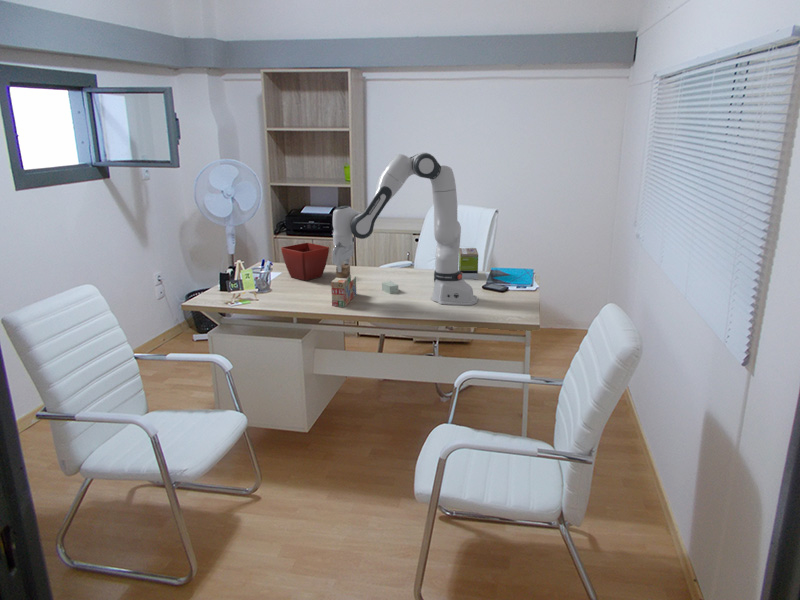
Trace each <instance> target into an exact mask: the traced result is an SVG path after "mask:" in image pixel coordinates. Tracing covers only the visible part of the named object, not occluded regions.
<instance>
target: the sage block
mask: <svg viewBox="0 0 800 600" xmlns="http://www.w3.org/2000/svg"><path fill="white" fill-rule="evenodd" d="M381 291H384V292H385V293H388V294H389V295H391V294H396V293H399V284H397V283H394V282H392V281H385V282H381Z"/></svg>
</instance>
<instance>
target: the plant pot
mask: <svg viewBox="0 0 800 600" xmlns="http://www.w3.org/2000/svg"><path fill="white" fill-rule="evenodd" d="M280 249H281V254H282V257H283V261H284V264H285V266H286V269H287V271H288V274H289V276H290V278H292V279H293V278H294V279H297V280H300V281H310V280H312V279H313V280H314V279H318V278H322V277H323V275H324V272H325V269H326V265H327V262H328V257H329V251H330V247H329V246H326V245H320V244H316V243H311V242H303V243H297V244H294V245H293V244H292V245H285V246H281V248H280Z"/></svg>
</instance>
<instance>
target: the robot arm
mask: <svg viewBox="0 0 800 600" xmlns="http://www.w3.org/2000/svg"><path fill="white" fill-rule="evenodd" d="M391 159H392V160H390V162H389V163H388V164H387V165H386V167H385V168H384V169H383V170H382V172H381V174H380V175H379V178H378V179H377V180H376V185H375V192H374V196H373V198H372V200H371V201H370V202H369V204H368V205H367V207H366V208H365V210H364V212H362V211H358V210H355V209H354V208H352V207H351V206H350V205H341V206H338V207H337V206H336V207H335V209H334V210H333V212H332V228H333V233H332V243H333V244H332V245H333V246H334V247H333V249H332V252H331V254H332V255H331V256H332V257H331V264H333V265H335V266H336V267H337V269H338V272H342V268H341V265H342V263H344V264H343V265H350V260H351V257H353V256H354V253H355V251H354V250H355V240H356V239H355V238H357V239H361V240H364V239H367V238H369V237H370V236H371V235H372V233H373V231H374V226H375V223H376V221H377V218H378V217H379V216H380V214H381V212H382V211H383V209H385V207H386V205H387V204H388V203H389V202H390V200H392V199H393V197H394V196H395V195H396V194H397V193H398V192H399V191H400V189H401V188H402V187H403V186H404V184H405V183H406V181H407V180H408V178H409V177H411V176H412V175H415V176H417V177H419V178H424V179H428V180H430V183H431V190H432V200H433V201H432V202H433V228H434V230H433V231H434V233H433V234H434V239H435V241H436V251H435V266H434V267H435V269H434V272H433V282H434V285H433V290H432V291H433V292H432V295H431V298H430V300H432V301H434V302H436V303H438V304H440V305H449V306H451V305H454V306H456V305H457V306H459V305H460V306H462V305H463V306H473V305H475V304H477V302H478V298H479V297H478V296H477V295H475V294H474V290H473V287H472V285H470V284H469V283H468V282H466V281H465V280H463V279H462V272H459V248H461V233H462V226H461V223H460V222H459V221H458V194H457V185H456V179H455V174H454V171H453V169H452V168H451V167H450V166H447V165H440V163H439V162H438V160H437V159H436V158H435V156H434V155H432V154H431V153H428V152H420V153H417V154H415V155H413V156H410V157H409V156H408V155H405V154H401V153H400V154H396V155H395V156H394V157H393V158H391Z"/></svg>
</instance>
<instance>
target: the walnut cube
mask: <svg viewBox="0 0 800 600" xmlns="http://www.w3.org/2000/svg"><path fill="white" fill-rule="evenodd" d="M335 268H336V270H335V271H336V272H335V273H336V277H338V278H347V277H349V276H350V275H351V265H350V264H349V265H344V264H341V268H342V272H338V269H337V266H336V267H335ZM336 277H335V278H336Z"/></svg>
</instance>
